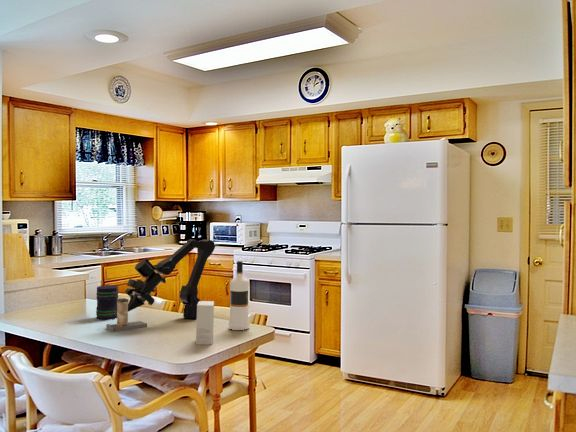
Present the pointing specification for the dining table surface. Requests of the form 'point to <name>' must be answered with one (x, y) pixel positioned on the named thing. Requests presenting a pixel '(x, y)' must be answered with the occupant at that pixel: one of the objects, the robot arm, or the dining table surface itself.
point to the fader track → (126, 326)
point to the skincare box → (205, 323)
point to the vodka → (239, 300)
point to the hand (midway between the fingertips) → (126, 311)
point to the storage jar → (106, 302)
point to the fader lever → (122, 311)
